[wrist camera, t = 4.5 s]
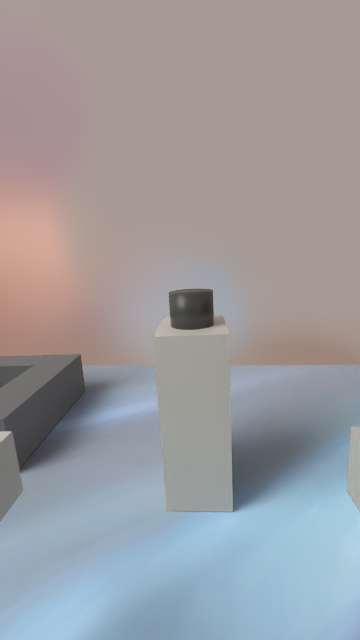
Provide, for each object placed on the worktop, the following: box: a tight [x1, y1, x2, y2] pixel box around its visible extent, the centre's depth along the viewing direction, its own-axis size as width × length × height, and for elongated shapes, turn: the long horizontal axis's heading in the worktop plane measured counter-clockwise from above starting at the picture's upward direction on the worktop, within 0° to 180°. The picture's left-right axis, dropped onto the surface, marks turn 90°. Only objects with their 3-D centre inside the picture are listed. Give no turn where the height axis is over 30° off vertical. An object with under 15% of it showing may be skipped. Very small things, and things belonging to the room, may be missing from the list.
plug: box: [153, 289, 233, 512], centre depth 19 cm, size 4×5×13 cm
